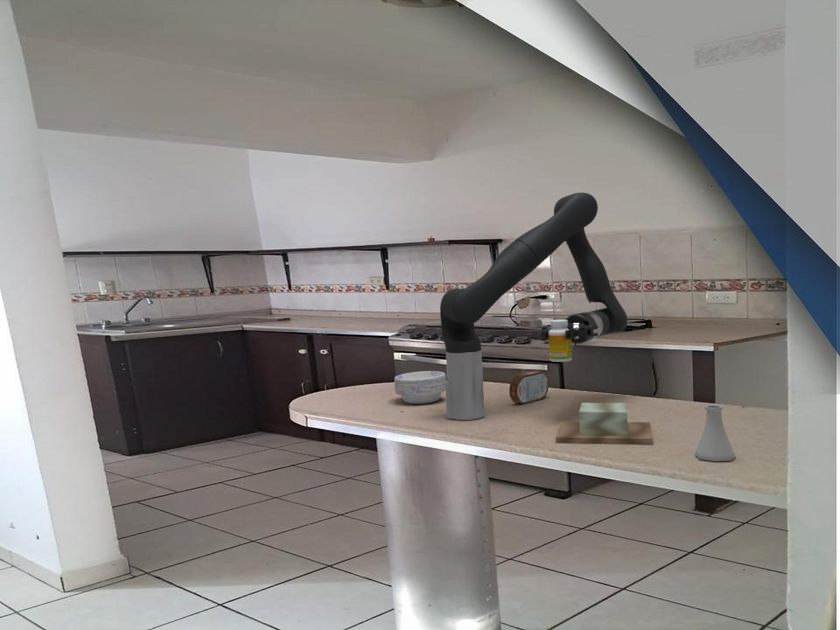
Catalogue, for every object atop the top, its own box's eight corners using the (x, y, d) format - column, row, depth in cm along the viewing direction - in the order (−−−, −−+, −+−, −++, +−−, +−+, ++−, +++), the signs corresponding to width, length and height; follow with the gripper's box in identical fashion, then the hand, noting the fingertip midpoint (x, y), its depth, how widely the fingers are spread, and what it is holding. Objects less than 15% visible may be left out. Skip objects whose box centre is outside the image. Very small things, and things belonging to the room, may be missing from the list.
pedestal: (555, 442, 152) (554, 414, 152) (561, 426, 166) (560, 400, 166) (653, 444, 146) (652, 415, 146) (650, 427, 161) (649, 400, 160)
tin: (542, 396, 204) (541, 367, 203) (551, 397, 202) (550, 368, 201) (508, 405, 194) (507, 375, 193) (517, 406, 191) (516, 376, 191)
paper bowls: (387, 400, 210) (386, 374, 210) (433, 394, 217) (432, 368, 216) (408, 409, 197) (406, 381, 196) (456, 401, 203) (454, 374, 202)
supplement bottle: (572, 361, 166) (570, 321, 166) (549, 362, 167) (547, 321, 167) (572, 358, 172) (570, 318, 171) (549, 359, 173) (548, 319, 172)
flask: (736, 463, 130) (735, 410, 130) (694, 461, 133) (693, 409, 132) (734, 453, 137) (733, 402, 136) (694, 451, 140) (693, 401, 139)
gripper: (557, 312, 184) (527, 319, 171) (609, 312, 176) (583, 319, 162) (558, 341, 185) (528, 349, 171) (610, 342, 177) (584, 351, 163)
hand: (555, 334), depth 167 cm, fingers closed on supplement bottle, 5 cm apart
